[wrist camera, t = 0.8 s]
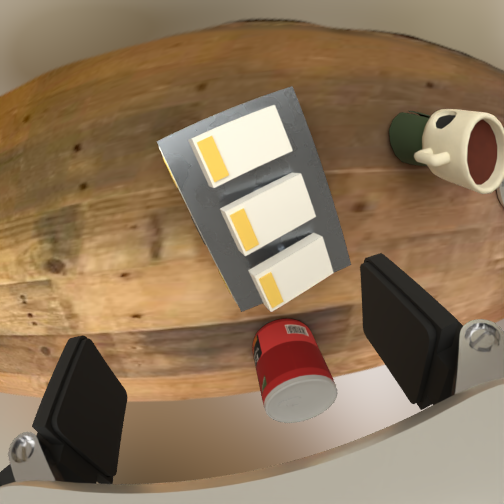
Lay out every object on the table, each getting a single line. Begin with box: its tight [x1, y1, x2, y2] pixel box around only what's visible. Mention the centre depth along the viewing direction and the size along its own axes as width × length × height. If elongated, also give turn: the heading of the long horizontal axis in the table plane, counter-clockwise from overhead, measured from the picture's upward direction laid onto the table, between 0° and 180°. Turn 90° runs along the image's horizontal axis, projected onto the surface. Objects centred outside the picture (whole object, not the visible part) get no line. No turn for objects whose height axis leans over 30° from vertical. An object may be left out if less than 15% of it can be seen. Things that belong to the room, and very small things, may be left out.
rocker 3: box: [248, 233, 334, 312], centre depth 28 cm, size 7×4×2 cm, turn 112°
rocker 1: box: [188, 105, 293, 188], centre depth 23 cm, size 7×4×2 cm, turn 112°
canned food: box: [252, 319, 337, 423], centre depth 34 cm, size 8×8×11 cm
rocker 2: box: [220, 172, 316, 256], centre depth 25 cm, size 7×4×2 cm, turn 111°
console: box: [157, 87, 351, 312], centre depth 29 cm, size 12×18×6 cm
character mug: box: [389, 109, 504, 194], centre depth 25 cm, size 11×7×13 cm, turn 108°
